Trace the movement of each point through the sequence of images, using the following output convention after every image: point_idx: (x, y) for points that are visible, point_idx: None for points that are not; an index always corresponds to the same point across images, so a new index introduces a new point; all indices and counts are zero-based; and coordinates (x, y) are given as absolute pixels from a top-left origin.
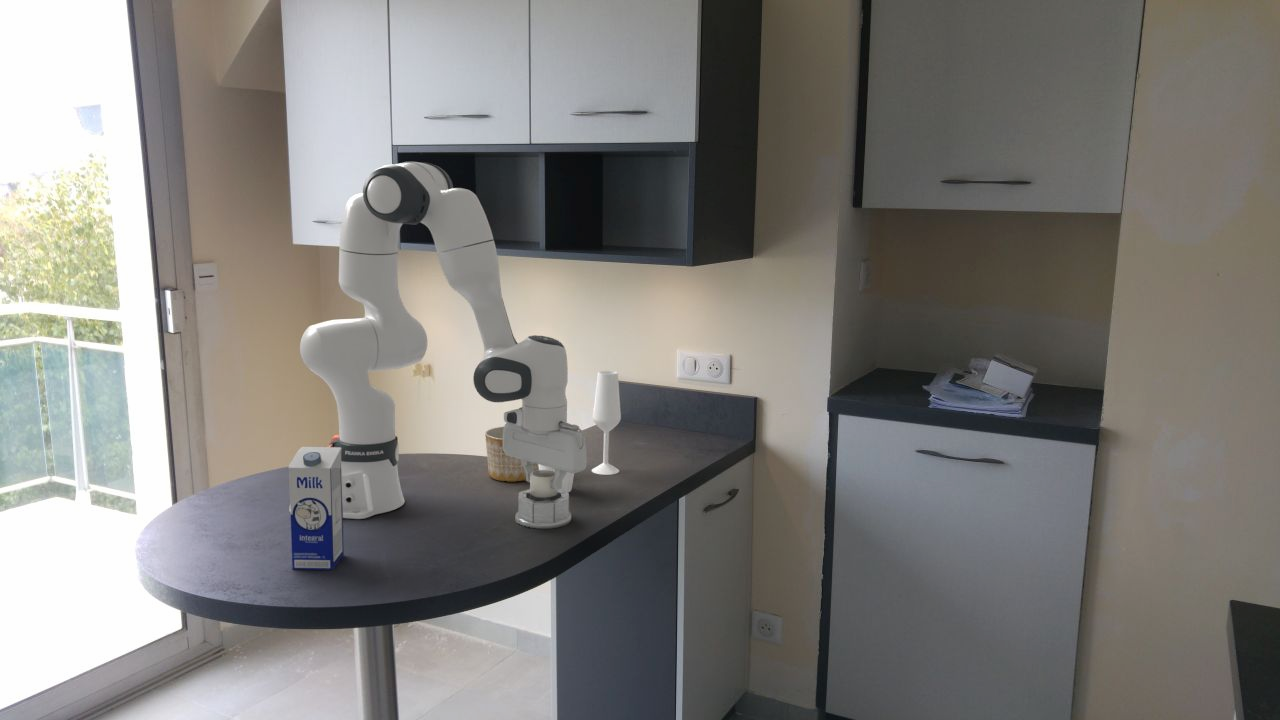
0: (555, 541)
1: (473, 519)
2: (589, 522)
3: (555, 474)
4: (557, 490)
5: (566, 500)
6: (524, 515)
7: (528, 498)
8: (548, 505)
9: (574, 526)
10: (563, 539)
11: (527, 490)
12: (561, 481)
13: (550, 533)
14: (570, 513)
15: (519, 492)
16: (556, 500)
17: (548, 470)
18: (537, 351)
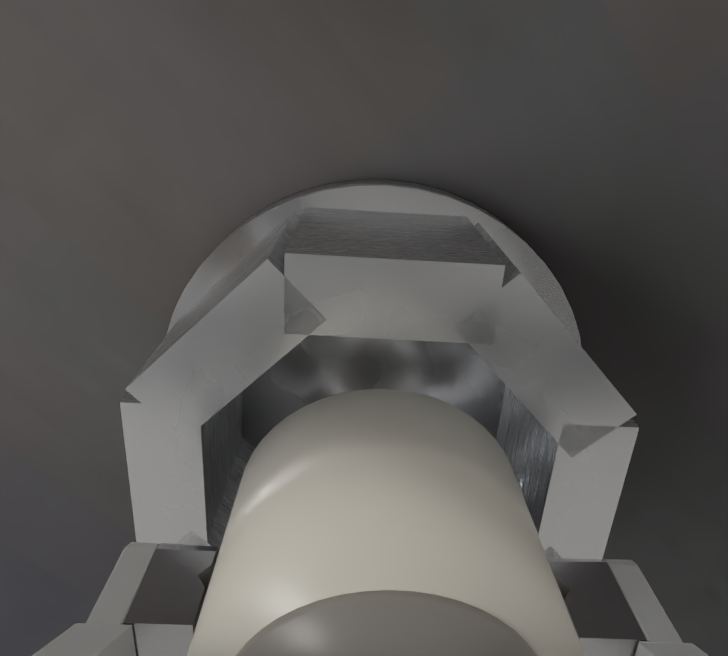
0: (662, 582)
1: (61, 612)
2: (695, 218)
3: (540, 647)
4: (508, 467)
5: (626, 444)
6: None
7: (219, 480)
8: None
9: (636, 350)
10: (687, 541)
11: (148, 484)
12: (670, 631)
13: None
14: (529, 253)
15: None
16: (566, 523)
17: (335, 608)
18: None
